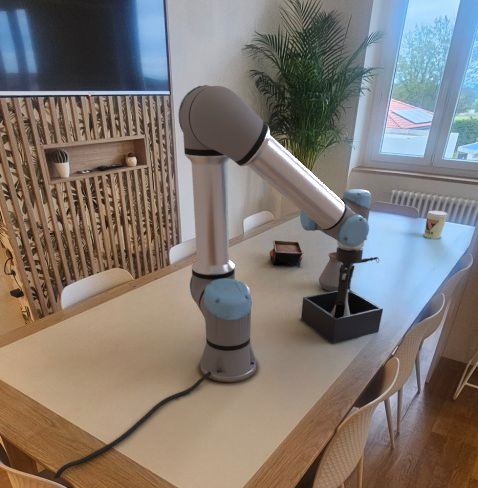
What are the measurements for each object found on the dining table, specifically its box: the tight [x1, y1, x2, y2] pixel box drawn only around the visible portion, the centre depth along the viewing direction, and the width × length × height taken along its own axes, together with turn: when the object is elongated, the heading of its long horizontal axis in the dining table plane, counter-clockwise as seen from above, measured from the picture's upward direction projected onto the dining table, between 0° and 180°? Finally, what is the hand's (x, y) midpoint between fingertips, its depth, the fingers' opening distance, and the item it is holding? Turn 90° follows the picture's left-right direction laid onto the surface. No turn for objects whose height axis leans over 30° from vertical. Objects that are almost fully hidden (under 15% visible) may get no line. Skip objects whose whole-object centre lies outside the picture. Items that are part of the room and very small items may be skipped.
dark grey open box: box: [300, 289, 384, 344], centre depth 138 cm, size 18×18×8 cm
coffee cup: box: [423, 210, 448, 240], centre depth 222 cm, size 9×9×12 cm
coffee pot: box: [318, 251, 380, 292], centre depth 160 cm, size 21×12×15 cm, turn 54°
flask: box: [331, 289, 350, 316], centre depth 136 cm, size 7×7×10 cm
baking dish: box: [269, 239, 304, 268], centre depth 188 cm, size 14×18×10 cm
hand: (339, 317), depth 139 cm, fingers closed on flask, 7 cm apart
